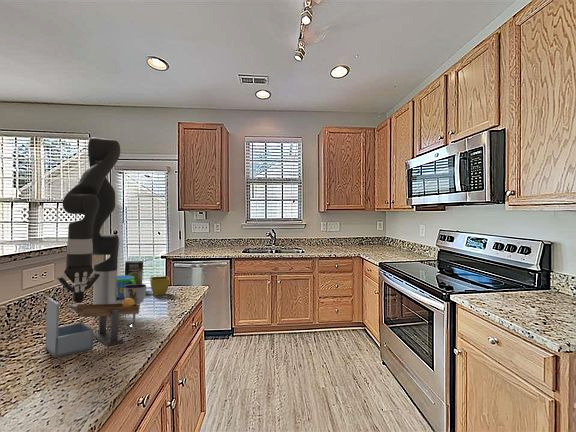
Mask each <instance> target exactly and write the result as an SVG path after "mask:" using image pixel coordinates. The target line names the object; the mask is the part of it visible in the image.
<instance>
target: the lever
mask: <svg viewBox="0 0 576 432" xmlns="http://www.w3.org/2000/svg"><path fill="white" fill-rule="evenodd" d="M122 303H123V302H121V303H120V302H119V303H117V302H116V303H114V304H93V303H91V304H81V303H73V304H70V305H69V309H71V310H72V311H74V312H75V314H77V315H78V316H81V317H82V318H87V317H88V318H90V317H91V318H92V317H99V316H106V317H107V316H110V317H111V311H112V310H117V309H118V310H119V316H122V315H124V316H125V315H127V316H128V315H133V314H136V315H139V313H140V310H141V309H140V308H141V304H140V305H138V304H136V303H135V304H134V306H132V307H123V306H122Z"/></svg>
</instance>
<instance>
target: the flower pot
mask: <svg viewBox="0 0 576 432" xmlns="http://www.w3.org/2000/svg"><path fill="white" fill-rule="evenodd" d="M149 279H150V288H151V292H152V294H153V296H155V297H158V296H165V295H166V294H167V292H168V290H169V284H170V278H169V276H167V275H164V276H163V275H162V276H150V277H149Z"/></svg>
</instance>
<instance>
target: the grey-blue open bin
mask: <svg viewBox="0 0 576 432" xmlns="http://www.w3.org/2000/svg"><path fill="white" fill-rule="evenodd" d="M45 319H46V320H45V321H46V322H45V345H44V346H45V347H44V349H45V350H46V351H47V352H48V353H49V354H50V355H51V356H52V357H53V358H54V359H58V358H61V357H67V356H70V355H75V354H79V353H82V352H86V351H89V350H93V349H94V337H93V333H94V329H93V328H92V327H90V326H88V325H87V324H86V323H84V322H78V323H71V324H67V325H61V326H59V320H60V303H59V302H58V301H56V300H54V299H52V298H51V297H46V318H45Z"/></svg>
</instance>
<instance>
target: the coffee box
mask: <svg viewBox="0 0 576 432" xmlns="http://www.w3.org/2000/svg"><path fill="white" fill-rule="evenodd" d="M143 273H144V261H143V260H137V261H136V260H131V261H130V260H126V261H125V262H124V275H127V276H134V280H135V282H136V284H143Z"/></svg>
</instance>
